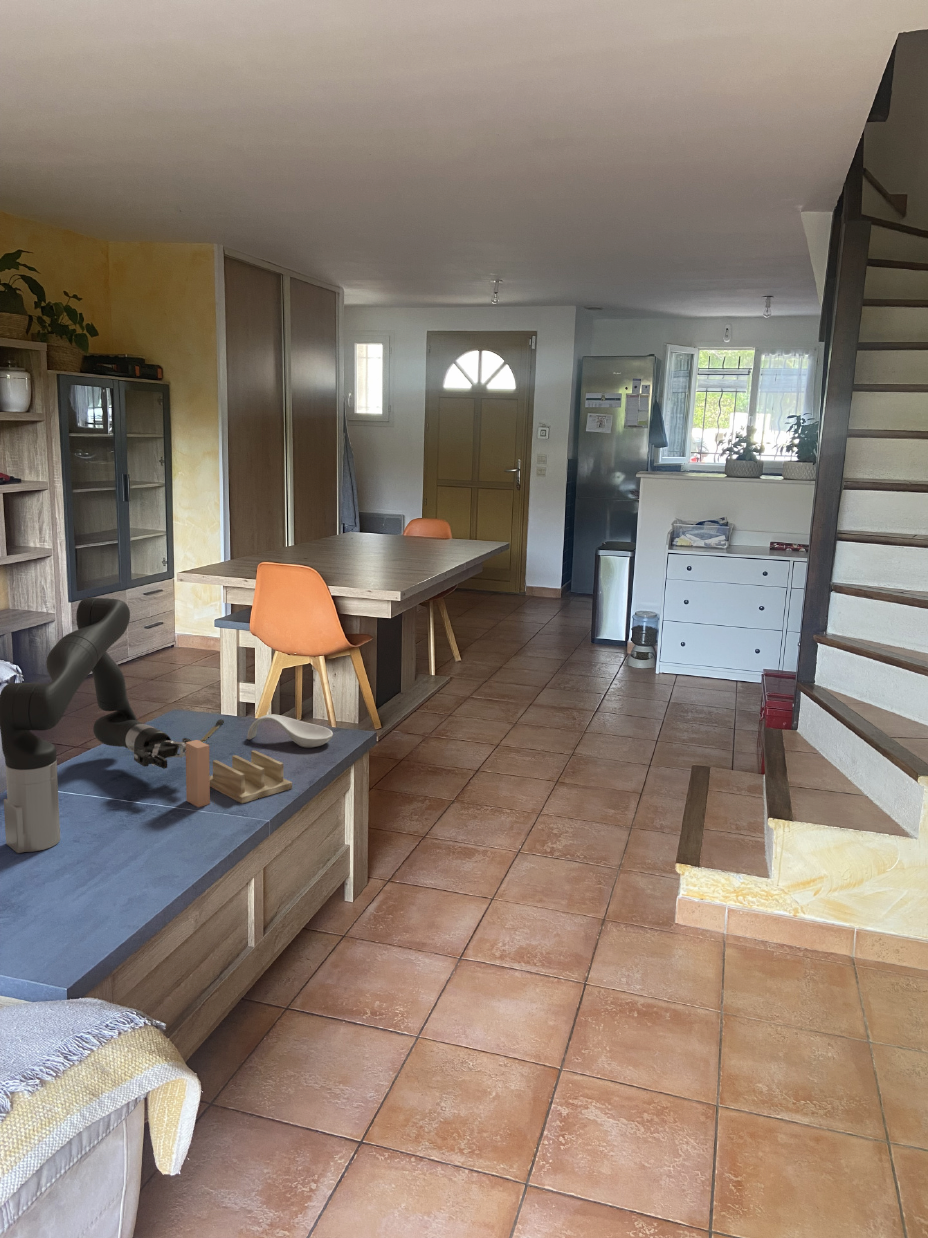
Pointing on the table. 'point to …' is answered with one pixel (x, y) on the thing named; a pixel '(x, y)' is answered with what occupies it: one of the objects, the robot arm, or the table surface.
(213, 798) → the table surface
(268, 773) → the wooden slotted stand
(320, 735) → the spoon rest
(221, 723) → the tactical tomahawk
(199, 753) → the clay slat
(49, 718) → the robot arm
